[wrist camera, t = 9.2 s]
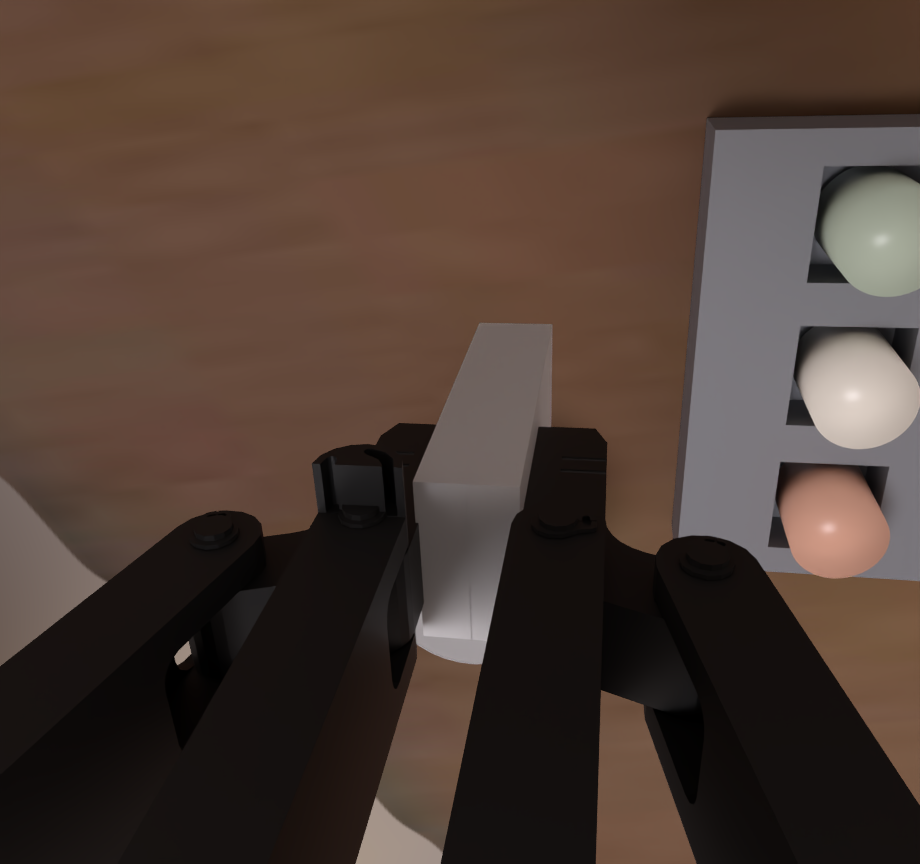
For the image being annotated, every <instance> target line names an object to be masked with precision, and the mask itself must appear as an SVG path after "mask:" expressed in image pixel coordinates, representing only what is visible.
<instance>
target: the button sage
mask: <svg viewBox="0 0 920 864" xmlns="http://www.w3.org/2000/svg"><path fill="white" fill-rule="evenodd" d="M814 236H815V239H816V241H817V242H818V244H819V245H820V247H821V248H822V249H823V251H824V252H825V253H826V254H827V256H828V257H829V258H830V259H831V261H832V262H833V263H834V264H835V266H836V267H837V268H838V269H839V271H840V272H841V273H842V275H843V276H844V277H845V278H846V280H847V281H848V282H849V283H850V284H851V285H852V286H854V287H855V288H857V289H858V290H860V291H862V292H864V293H867V294H869V295H873V296H878V297H895V296H901V295H904V294H908V293H911V292H913V291H916V290H918V289H920V184H919V183H917V182H916V181H914V180H913V179H911V178H910V177H908V176H906V175H905V174H903V173H902V172H900V171H898V170H897V169H895V168H892V167H890V166H857V167H854V168H851V169H849V170H846V171H844V172H843V173H841V174H839V175H838V176H837V177H835V178H834V179H833V180H832V181H831V182H830V183H829V184H828V185H827V186H826V187H825V188H824V189H823V191H822V192H821V194H820V197H819V204H818V210H817V217H816V224H815V231H814Z"/></svg>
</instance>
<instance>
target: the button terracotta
mask: <svg viewBox="0 0 920 864" xmlns="http://www.w3.org/2000/svg"><path fill="white" fill-rule="evenodd" d="M775 501H776V504H777V507H778V511H779V514H780V517H781V520H782V524H783V527H784V530H785V533H786V537H787V540H788V543H789V546H790V549H791V553H792V555H793V557H794V558H795V560H796V561H797V563H798V564H799V565H800V566H801V567H803V568H804V569H805V570H807V571H808V572H810V573H812V574H815V575H818V576H821V577H825V578H846V577H851V576H855V575H858V574H860V573H863V572H865V571H867V570H868V569H870V568H871V567H873V566H874V565H875V564H876V563H878V562H879V561H880V559H881V558H882V557H883V556H884V554H885V553H886V551H887V548H888V546H889V542H890V530H889V526H888V524H887V521H886V519H885V517H884V515H883V513H882V511H881V510H880V508H879V506H878V504H877V502H876V500H875V498H874V496H873V494H872V492H871V490H870V488H869V486H868V484H867V482H866V480H865V478H864V476H863V474H862V472H861V470H860V468H859V467H858V465H842V464H819V463H796V462H785V463H784V464H783V465H782V466H781V468H780V469H779V475H778V481H777V488H776V495H775Z"/></svg>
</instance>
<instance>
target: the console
mask: <svg viewBox="0 0 920 864" xmlns="http://www.w3.org/2000/svg"><path fill="white" fill-rule="evenodd" d="M857 166H890V167H892V168H895V169H897V170H898V171H900V172H902V173H903V174H905V175H906V176H908V177H910V178H911V179H913V180H914V181H916V182H917V183H919V184H920V114H892V115H836V116H781V117H725V118H707V123H706V134H705V146H704V157H703V169H702V180H701V192H700V204H699V215H698V227H697V238H696V250H695V261H694V273H693V285H692V296H691V308H690V319H689V331H688V342H687V354H686V366H685V377H684V389H683V400H682V412H681V423H680V435H679V446H678V458H677V470H676V481H675V493H674V504H673V516H672V532H673V539H675V538H680V537H685V536H690V535H698V536H713V537H717V538H722V539H725V540H729V541H731V542H733V543H735V544H737V545H739V546H741V547H743V548H745V549H747V550H748V551H749V552H750V553H751V554H752V555H753V556H754V557H755V558H756V559H757V560H758V562H759V563H760V565H761V566H762V568H763V569H764V571H771V572H787V573H803V574H812V573H810V572H808V571H807V570H805V569H804V568H803V567H801V566H800V565H799V564H798V563H797V561H796V560H795V558H794V557H793V555H792V553H791V549H790V546H789V543H788V540H787V537H786V533H785V530H784V527H783V524H782V520H781V517H780V514H779V511H778V507H777V504H776V501H775V495H776V488H777V481H778V475H779V469H780V468H781V466H782V465H783V464H784V463H785V462H796V463H819V464H842V465H858V467H859V468H860V470H861V472H862V474H863V476H864V478H865V480H866V482H867V484H868V486H869V488H870V490H871V492H872V494H873V496H874V498H875V500H876V502H877V504H878V506H879V508H880V510H881V511H882V513H883V515H884V517H885V519H886V521H887V524H888V526H889V530H890V542H889V546H888V548H887V551H886V553H885V554H884V556H883V557H882V558H881V559H880V561H879V562H878V563H876V564H875V565H874V566H873V567H871V568H870V569H868V570H867V571H865V572H863V573H860V574H858V575H855V576H851V577H866V578H882V579H898V580H913V581H920V407H919V410H918V413H917V415H916V417H915V419H914V421H913V422H912V424H911V425H910V426H909V427H908V429H907V430H906V431H904V432H903V433H902V434H901V435H900V436H898V437H897V438H895V439H894V440H892V441H890V442H888V443H886V444H884V445H881V446H878V447H874V448H869V449H850V448H845V447H841V446H838V445H836V444H834V443H832V442H830V441H829V440H827V439H826V438H825V437H824V436H823V435H822V434H821V433H820V432H819V431H818V429H817V428H816V426H815V424H814V422H813V420H812V418H811V415H810V413H809V411H808V409H807V407H806V404H805V402H804V400H803V398H802V396H801V393H800V391H799V389H798V387H797V384H796V382H795V380H794V378H793V373H794V366H795V360H796V353H797V346H798V342H799V340H800V339H801V338H802V337H803V335H804V334H805V333H807V332H808V331H809V330H810V329H811V328H813V327H814V326H831V327H876V328H877V329H878V330H879V331H880V332H881V334H882V335H883V336H884V338H885V339H886V340H887V341H888V343H889V344H890V345H891V347H892V348H893V349H894V351H895V352H896V353H897V354H898V356H899V357H900V358H901V360H902V361H903V362H904V364H905V365H906V366H907V367H908V369H909V370H910V371H911V373H912V374H913V375H914V376H915V378H916V380H917V382H918V385H919V387H920V289H918V290H916V291H913V292H911V293H908V294H904V295H901V296H895V297H878V296H873V295H869V294H867V293H864V292H862V291H860V290H858V289H857V288H855V287H854V286H852V285H851V284H850V283H849V282H848V281H847V280H846V278H845V277H844V276H843V275H842V273H841V272H840V271H839V269H838V268H837V267H836V266H835V264H834V263H833V262H832V261H831V259H830V258H829V257H828V256H827V254H826V253H825V252H824V251H823V249H822V248H821V247H820V245H819V244H818V242H817V241H816V239H815V236H814V231H815V224H816V217H817V210H818V204H819V197H820V194H821V192H822V191H823V189H824V188H825V187H826V186H827V185H828V184H829V183H830V182H831V181H832V180H833V179H834V178H835V177H837V176H838V175H839V174H841V173H843V172H844V171H846V170H849V169H851V168H854V167H857Z"/></svg>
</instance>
